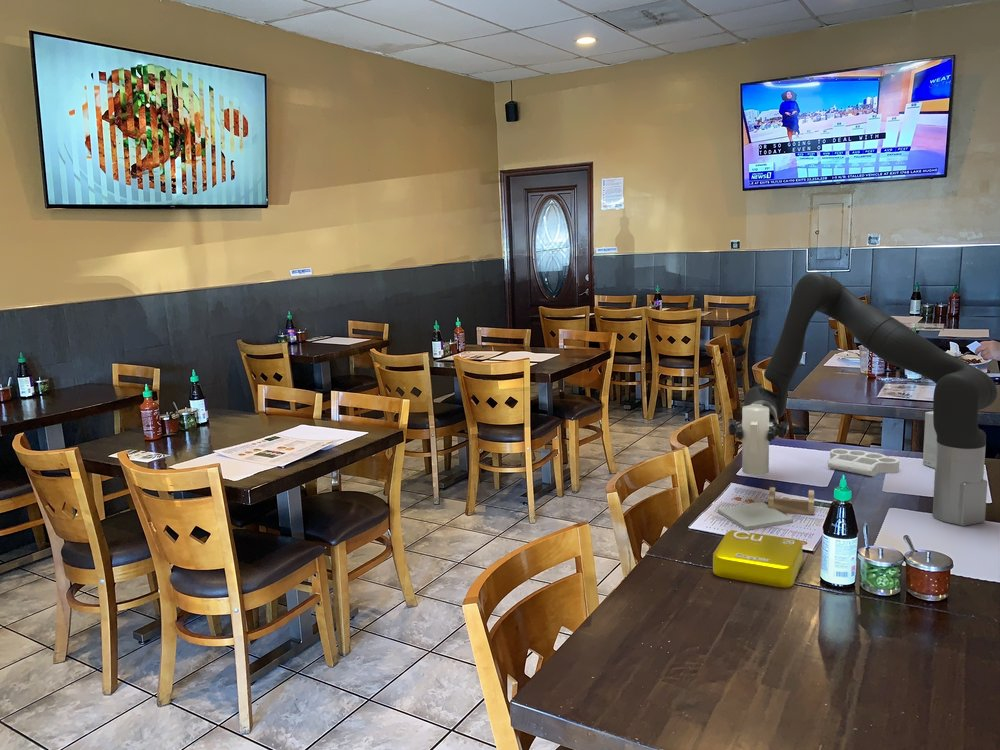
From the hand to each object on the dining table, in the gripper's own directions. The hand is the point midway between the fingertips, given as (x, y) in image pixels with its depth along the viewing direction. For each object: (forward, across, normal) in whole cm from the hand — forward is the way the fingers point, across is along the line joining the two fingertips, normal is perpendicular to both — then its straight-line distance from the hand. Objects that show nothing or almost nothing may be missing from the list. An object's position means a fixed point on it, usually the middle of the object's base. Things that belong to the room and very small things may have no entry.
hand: (754, 436), depth 169 cm
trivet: (-1, 0, +20) cm, 20 cm away
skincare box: (-52, +44, +20) cm, 71 cm away
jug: (-1, 0, +9) cm, 9 cm away
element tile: (+25, +3, +20) cm, 32 cm away
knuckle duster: (-46, +24, +21) cm, 56 cm away
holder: (-11, +8, +20) cm, 24 cm away
